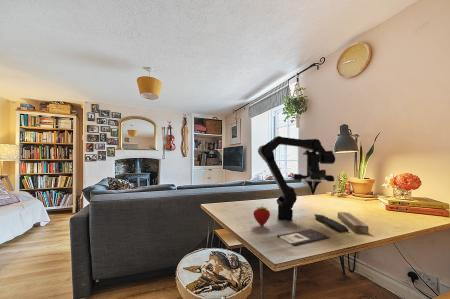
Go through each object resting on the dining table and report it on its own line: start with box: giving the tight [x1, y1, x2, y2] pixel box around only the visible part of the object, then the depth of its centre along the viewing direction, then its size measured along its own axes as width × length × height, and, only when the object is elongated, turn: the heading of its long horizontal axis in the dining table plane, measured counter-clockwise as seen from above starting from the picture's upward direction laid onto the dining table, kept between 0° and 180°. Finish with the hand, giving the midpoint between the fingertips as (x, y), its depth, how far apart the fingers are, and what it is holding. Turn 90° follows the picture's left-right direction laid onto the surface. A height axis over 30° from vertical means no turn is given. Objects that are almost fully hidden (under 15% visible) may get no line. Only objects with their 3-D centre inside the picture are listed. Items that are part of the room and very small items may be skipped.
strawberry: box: [253, 203, 271, 227], centre depth 92 cm, size 6×8×10 cm
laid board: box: [337, 211, 369, 234], centre depth 95 cm, size 6×20×3 cm, turn 168°
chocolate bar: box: [276, 228, 330, 247], centre depth 80 cm, size 9×1×18 cm
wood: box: [314, 214, 350, 234], centre depth 96 cm, size 22×7×3 cm, turn 7°
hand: (312, 194), depth 105 cm, fingers closed
